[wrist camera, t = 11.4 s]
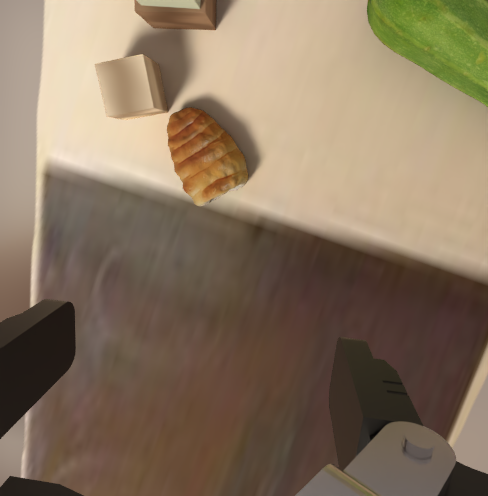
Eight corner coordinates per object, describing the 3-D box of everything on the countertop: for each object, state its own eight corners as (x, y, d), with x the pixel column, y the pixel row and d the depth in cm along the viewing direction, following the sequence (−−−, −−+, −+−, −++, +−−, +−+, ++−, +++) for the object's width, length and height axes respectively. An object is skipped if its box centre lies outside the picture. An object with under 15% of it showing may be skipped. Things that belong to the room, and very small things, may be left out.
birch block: (159, 64, 39) (142, 53, 34) (168, 112, 40) (153, 107, 35) (116, 73, 39) (94, 64, 35) (126, 120, 40) (106, 116, 36)
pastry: (154, 129, 40) (141, 127, 37) (210, 93, 39) (203, 88, 35) (201, 209, 42) (193, 215, 38) (257, 178, 40) (254, 181, 37)
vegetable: (414, -82, 27) (634, 98, 28) (416, -78, 32) (601, 73, 33) (344, 22, 31) (534, 171, 33) (356, 11, 37) (519, 139, 38)
